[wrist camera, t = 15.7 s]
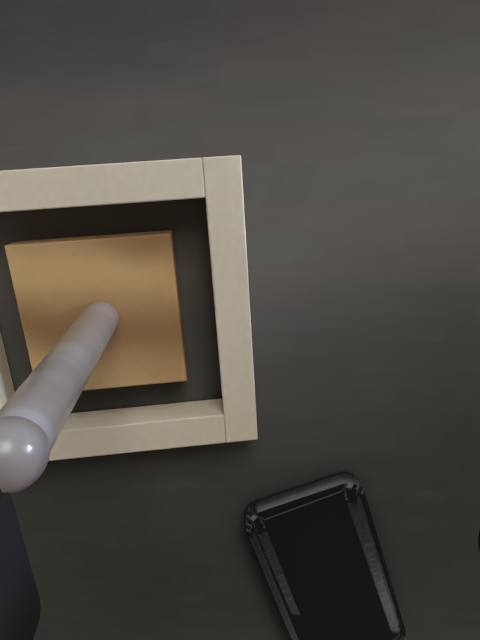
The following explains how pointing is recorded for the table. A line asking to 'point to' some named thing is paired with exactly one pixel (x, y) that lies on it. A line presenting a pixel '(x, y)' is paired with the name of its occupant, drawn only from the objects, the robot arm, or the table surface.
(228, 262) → the white square frame
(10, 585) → the robot arm
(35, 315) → the wooden base with peg
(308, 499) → the phone
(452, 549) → the table surface
